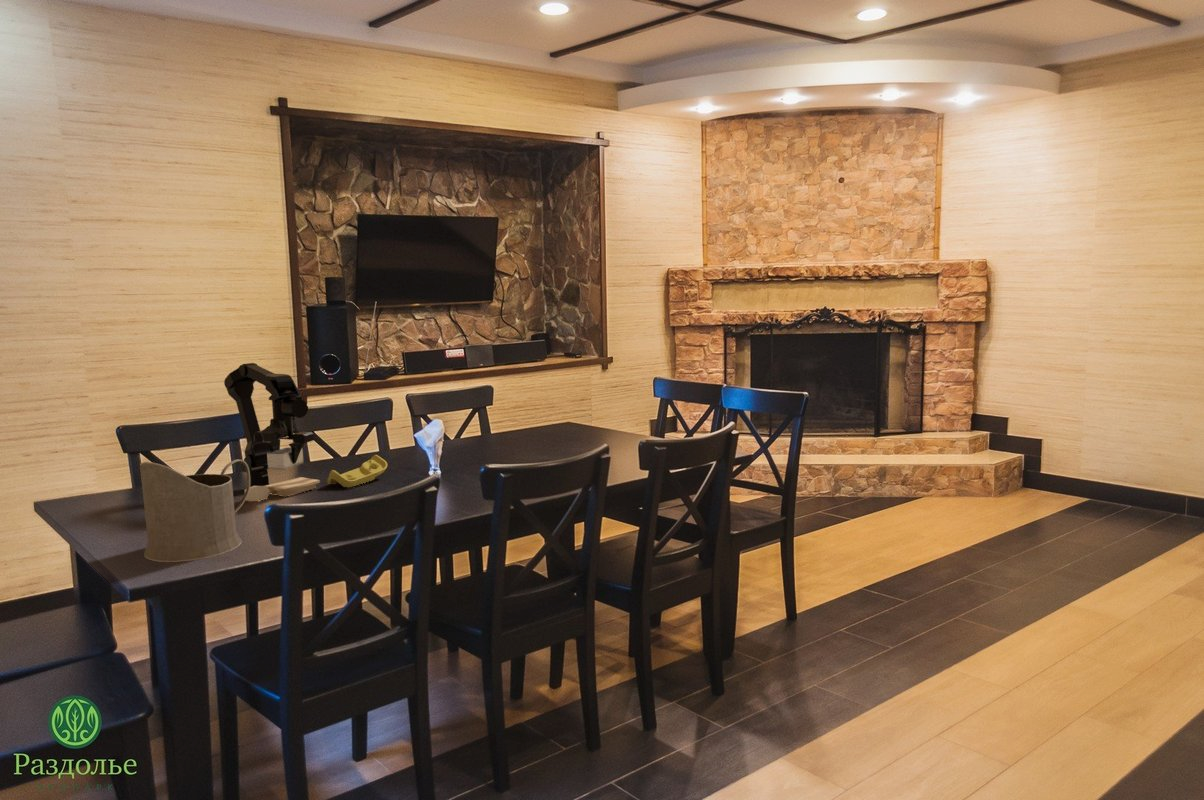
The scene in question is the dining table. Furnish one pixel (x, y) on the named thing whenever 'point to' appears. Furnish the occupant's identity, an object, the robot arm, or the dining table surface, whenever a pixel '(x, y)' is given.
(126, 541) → the dining table surface
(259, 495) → the parts box
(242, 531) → the dining table surface
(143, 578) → the dining table surface
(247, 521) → the dining table surface
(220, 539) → the pitcher
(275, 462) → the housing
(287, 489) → the stand
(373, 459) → the plastic component
